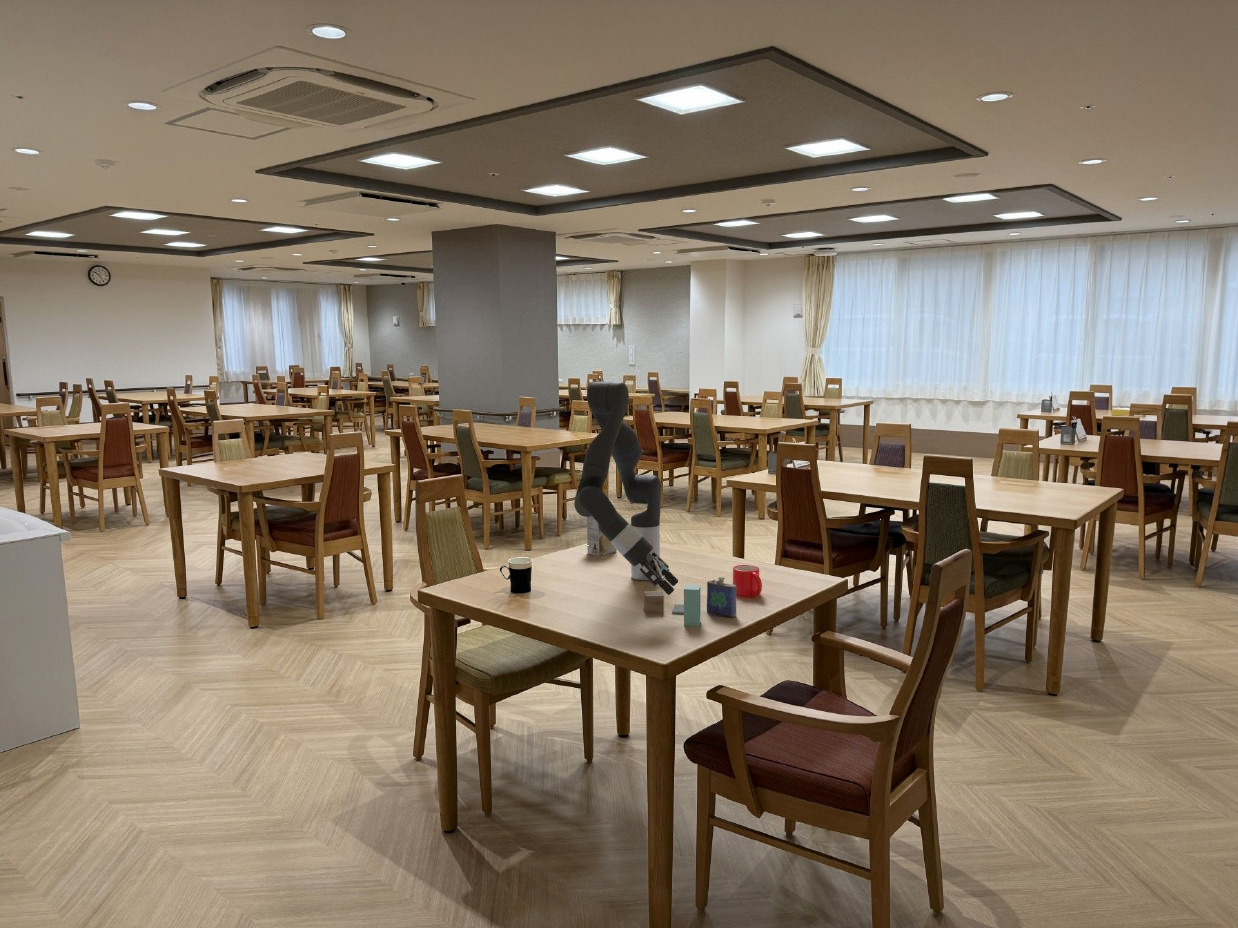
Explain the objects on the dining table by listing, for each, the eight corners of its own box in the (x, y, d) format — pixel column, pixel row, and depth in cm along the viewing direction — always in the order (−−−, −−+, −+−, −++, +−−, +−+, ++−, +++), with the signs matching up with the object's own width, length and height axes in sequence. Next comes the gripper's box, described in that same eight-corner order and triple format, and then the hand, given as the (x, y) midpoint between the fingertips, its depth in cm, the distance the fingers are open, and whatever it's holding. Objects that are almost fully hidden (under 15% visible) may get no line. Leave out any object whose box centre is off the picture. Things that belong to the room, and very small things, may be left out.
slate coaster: (675, 608, 248) (675, 604, 248) (699, 609, 247) (699, 605, 247) (672, 615, 242) (672, 611, 241) (697, 616, 240) (697, 612, 240)
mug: (750, 602, 251) (750, 575, 250) (727, 591, 262) (727, 566, 261) (772, 598, 255) (773, 572, 254) (749, 588, 266) (749, 563, 264)
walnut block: (644, 608, 247) (644, 591, 247) (661, 607, 248) (661, 590, 247) (646, 613, 242) (645, 596, 242) (663, 612, 243) (663, 595, 242)
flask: (738, 616, 239) (738, 578, 237) (732, 619, 236) (732, 580, 235) (709, 610, 244) (709, 573, 243) (704, 612, 242) (703, 575, 241)
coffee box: (604, 549, 318) (603, 506, 316) (617, 551, 314) (616, 508, 312) (586, 553, 312) (586, 509, 309) (599, 556, 307) (598, 512, 305)
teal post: (685, 620, 235) (685, 585, 234) (700, 621, 235) (700, 585, 233) (683, 625, 232) (683, 589, 230) (698, 626, 231) (698, 589, 229)
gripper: (636, 541, 225) (680, 586, 225) (645, 530, 239) (687, 572, 239) (616, 560, 227) (660, 604, 227) (627, 548, 241) (668, 589, 240)
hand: (674, 588), depth 233 cm, fingers open, 8 cm apart
